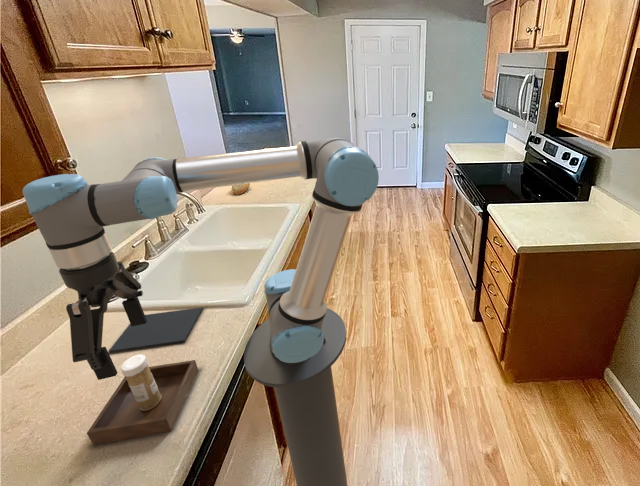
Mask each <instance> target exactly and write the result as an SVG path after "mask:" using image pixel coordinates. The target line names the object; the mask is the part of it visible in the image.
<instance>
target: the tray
mask: <svg viewBox="0 0 640 486" xmlns="http://www.w3.org/2000/svg"><path fill="white" fill-rule="evenodd" d="M148 367H149V369H150V372H151V373H152V375H153V378H154V380H155V382H156V384H157V387H158V390H159V392H160V394H161V395H162V399H161V401H160V402H159V404H158V405H157V406H156V407H154V408H152V409H151V410H148V411H141V410H140V409H139V404H138V402H137V401H136V399H135V397H134V395H133V393H132V391H131V389H130V387H129V384H128V381H127V379H126V377H125V376H124V377H123V379H122V380H121V381H120V383H119V385H118V386H117V387H116V389H115V391H114V392H113V394H112V395H111V396H110V398H109V399H108V401H106V404H105V405H104V407H103V408H102V410H101V411H100V413H99V414H98V416H97V417H96V419H95V420H94V421H93V423H92V424H91V426H90V428H89V429H88V430H87V432H86V435H87V437H88V438H89V440H90V442H91V443H92V446H95V445H96V446H97V445H100V444H107V443H111V442H112V443H113V442H119V441H124V440H129V439H134V438H139V437H145V436H150V435H156V434H161V433H167V432H172V431H173V429H174V426H175V424H176V422H177V419H178V418H179V415H180V413H181V411H182V408H183V406H184V404H185V402H186V400H187V398H188V395H189V394H190V391H191V388H192V387H193V384H194V383H195V379H196V377H197V376H198V373H199V367H198V364H197V362H196V359H193V360H185V361H179V362H173V363H172V362H171V363H167V364H159V365H153V366H148Z"/></svg>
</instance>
